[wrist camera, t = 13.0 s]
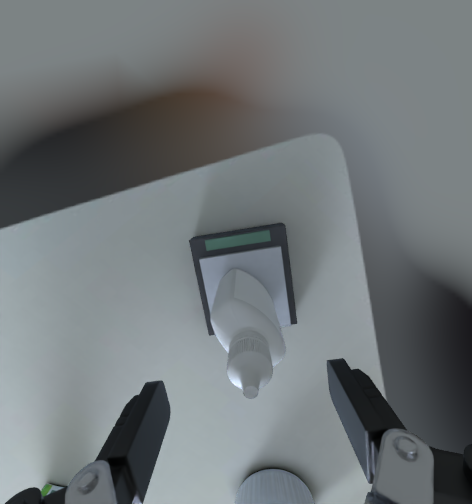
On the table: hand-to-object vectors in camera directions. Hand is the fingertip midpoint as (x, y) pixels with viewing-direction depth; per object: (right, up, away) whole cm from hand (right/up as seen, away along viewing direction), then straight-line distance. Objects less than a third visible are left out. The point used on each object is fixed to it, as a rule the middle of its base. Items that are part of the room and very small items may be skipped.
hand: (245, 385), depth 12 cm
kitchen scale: (0, +4, +14) cm, 14 cm away
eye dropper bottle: (+1, +3, +11) cm, 12 cm away
